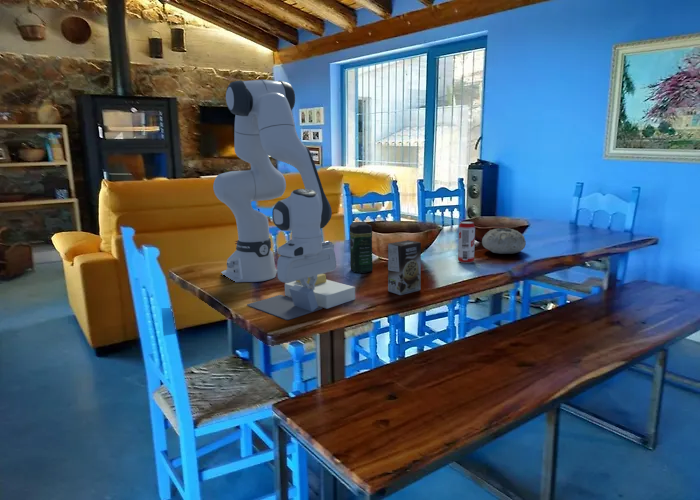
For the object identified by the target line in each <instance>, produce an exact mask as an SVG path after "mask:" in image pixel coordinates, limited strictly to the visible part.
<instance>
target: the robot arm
mask: <svg viewBox="0 0 700 500" xmlns="http://www.w3.org/2000/svg"><path fill="white" fill-rule="evenodd" d="M225 101H226V105H227V109H228V110H229V111H230V113H231V114H233V115H235V117H234V133H233V134H234V135H233V136H234V140H233V141H234V153H235V155H236V156H237V158H239V159H241V161H244V162H245V163H248V164H250V169H247V170H232V171H226V172H223V173H219V174H218V175H217V176H216V177H215V179H214V180H213V181H214V182H213V186H212V187H213V192H214V193H213V194H214V195H215V197H216V198H217V199H218V200H219V201H220V202H221V203H222V204H224V205H225V206H227V207H228V208H229V209H230V211H231V213H232V214H233V215H234V218H235V222H236V227H237V237H238V239H237V240H235V241H234V242H235V243H234V244H235V245H236V247H235V249H236V250H234V252H233V253H232V254H231V255H230V256H229V257H228V258H227V260H226V269H225V270H223V271H220V274H221V273H222V274H223V275H225V276H226V277H228V278H230V279H231V280H233V281H235V282H234V283H256V282H258V283H259V282H264V281H269V280H272V279H274V278H276V277H277V279H278V280H279V282H282V283H284V284H285V283H290V282H293V281H297V280H300V282H301V283H302V285H303V287H305V288H309V289H312V290H314V289H315V285H314V284H315V283H316V280H317V275H319V274H326V273H330V272H333V271H335V270H336V268H337V260H336V259H337V258H336V257H337V256H336V253H335V246H334V244H333V243H332V241H330V240H326V241H323V234H322V229H323V228H325V227H326V226H327V225H328V224H329V223H330V221H331V219H332V215H333V212H332V211H333V210H332V207H331V204H330V201H329V200H328V198H327V195H326V194H325V191H324V188H323V185H322V182H321V178H320V175H319V173H318V169H317V166H316V164H315V161H314V158H313V156H312V153H311V151H310V149H309V147H307V146H306V145H304V143H303V142H302V141H301V139H300V137H299V134H298V133H297V129H296V125H295V124H296V123H295V119H294V118H295V117H294V115H293V112H292V110H293V109H294V107H295V106H296V105H295V104H296V94H295V90H294V88H293V86H292V84H291V83H289V82H286V81H283V80H278V81H277V80H272V79H254V80H235V81H231V82H230V83H229V84H228V86H227V87H226V91H225ZM270 158H272V159H274V160H276V161H278V162H279V161H280V162H283V163H285V164H288V165H290V166H292V167H294V168H295V169H296V170H297V171H298V173H299V174H300V177H301V180H302V183H303V186H304V188H297V189H294V190H292V191H291V192H290V196H288V197H286V198H283V199H282V200H278V201H277V202H276V203H275V204H274V205H273V208H272V221H273V224H274V225H275V226H276V227H277V228H278V229H279V230H280V231H284V232H291V239H289V240H287V242H285V243H284V244H282V245H279V247H278V248H277V254H278V255H279V257H278V259H277V261H276V263H277V264H276V263H275V257H274V252H273V251H272V250H271V249H272V241H271V238H270V227H269V218H268V216H267V215H266V214H265V213H264V212H261V211H259V210H257V209H254V208H253V206H252V202H257V201H258V202H259V201H270V200H274V199H277V198H281V197H282V196H283V195H284V193H285V191H286V188H287V183H286V182H287V181H286V178H285V176H284V175H283V173H282V172H281V171H280V170H278V168H276V167H275V166H274V165H273V163H272V161H271V159H270ZM223 275H222V276H223ZM226 277H225V278H226ZM308 277H309V278H311V279H310V282H309V284H308V283H307V282H306V281H308ZM228 278H227V279H228ZM230 279H229V280H230ZM231 280H230V281H231ZM233 281H232V282H233Z"/></svg>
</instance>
